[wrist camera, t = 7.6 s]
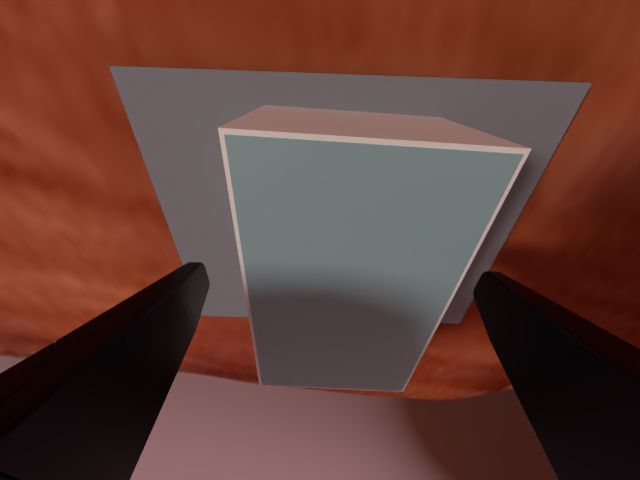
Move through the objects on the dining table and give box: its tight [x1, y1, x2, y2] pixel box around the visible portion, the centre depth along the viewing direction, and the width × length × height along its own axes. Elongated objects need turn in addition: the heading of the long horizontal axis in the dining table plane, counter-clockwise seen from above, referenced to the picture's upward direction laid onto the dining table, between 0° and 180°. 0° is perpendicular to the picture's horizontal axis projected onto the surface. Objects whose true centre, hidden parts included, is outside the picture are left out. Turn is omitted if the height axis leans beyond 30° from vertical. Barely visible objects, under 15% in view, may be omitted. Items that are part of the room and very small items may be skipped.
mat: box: [109, 66, 592, 324], centre depth 10 cm, size 14×11×1 cm
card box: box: [218, 105, 531, 392], centre depth 8 cm, size 9×6×4 cm, turn 177°
